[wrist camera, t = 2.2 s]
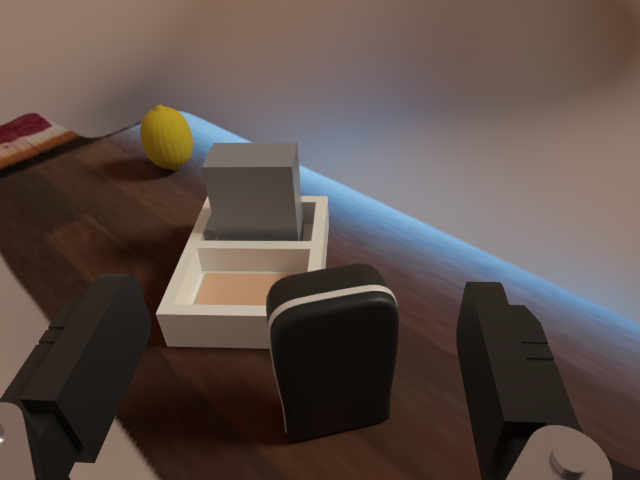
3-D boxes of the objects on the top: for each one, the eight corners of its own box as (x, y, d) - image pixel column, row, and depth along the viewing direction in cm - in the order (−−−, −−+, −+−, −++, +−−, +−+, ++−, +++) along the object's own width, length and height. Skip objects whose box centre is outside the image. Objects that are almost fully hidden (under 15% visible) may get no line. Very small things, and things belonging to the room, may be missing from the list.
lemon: (187, 154, 61) (173, 91, 56) (206, 171, 57) (192, 106, 52) (144, 168, 59) (125, 104, 54) (160, 187, 55) (141, 121, 50)
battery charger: (375, 374, 34) (381, 246, 27) (394, 422, 31) (406, 292, 24) (276, 395, 33) (256, 268, 26) (286, 447, 30) (265, 320, 23)
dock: (328, 226, 48) (325, 131, 42) (318, 349, 36) (311, 243, 30) (214, 225, 49) (193, 133, 43) (167, 346, 37) (129, 242, 31)
